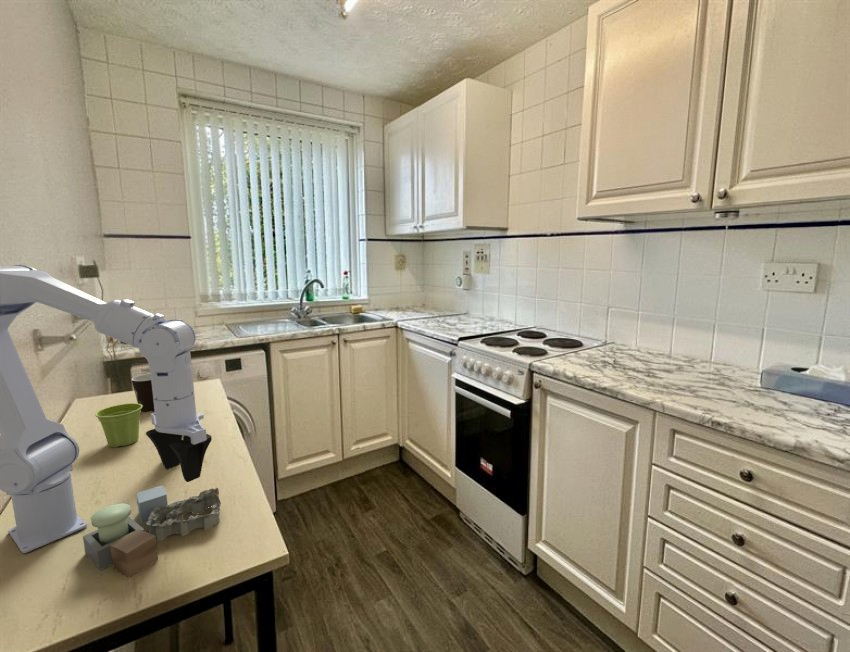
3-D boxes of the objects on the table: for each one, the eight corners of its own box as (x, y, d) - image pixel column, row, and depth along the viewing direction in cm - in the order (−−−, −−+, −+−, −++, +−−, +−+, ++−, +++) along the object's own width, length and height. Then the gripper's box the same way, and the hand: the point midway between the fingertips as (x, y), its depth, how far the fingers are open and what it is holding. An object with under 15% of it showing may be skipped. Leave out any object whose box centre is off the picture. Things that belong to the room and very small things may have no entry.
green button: (89, 541, 62) (86, 515, 62) (126, 524, 66) (123, 500, 66) (101, 553, 60) (97, 526, 59) (138, 535, 64) (135, 510, 63)
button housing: (85, 553, 63) (82, 536, 62) (130, 532, 67) (128, 516, 67) (100, 570, 59) (97, 551, 59) (146, 546, 64) (144, 529, 64)
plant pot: (90, 448, 99) (85, 414, 97) (128, 432, 108) (124, 401, 106) (118, 453, 96) (113, 418, 95) (155, 437, 105) (151, 404, 103)
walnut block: (113, 570, 59) (110, 545, 59) (141, 552, 63) (139, 528, 62) (130, 578, 58) (126, 553, 57) (158, 560, 61) (155, 536, 61)
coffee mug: (141, 405, 128) (137, 374, 127) (172, 402, 131) (168, 372, 129) (126, 418, 118) (122, 385, 116) (160, 414, 120) (157, 382, 119)
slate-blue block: (138, 513, 73) (136, 493, 72) (165, 505, 75) (162, 485, 75) (141, 524, 70) (139, 503, 69) (168, 515, 72) (166, 494, 72)
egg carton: (223, 506, 75) (221, 485, 75) (219, 530, 68) (217, 508, 68) (156, 519, 71) (153, 497, 71) (144, 546, 65) (141, 522, 64)
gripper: (222, 396, 65) (228, 475, 67) (178, 382, 73) (185, 452, 76) (175, 409, 60) (184, 494, 62) (133, 392, 68) (142, 468, 70)
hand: (182, 472), depth 68 cm, fingers open, 6 cm apart
